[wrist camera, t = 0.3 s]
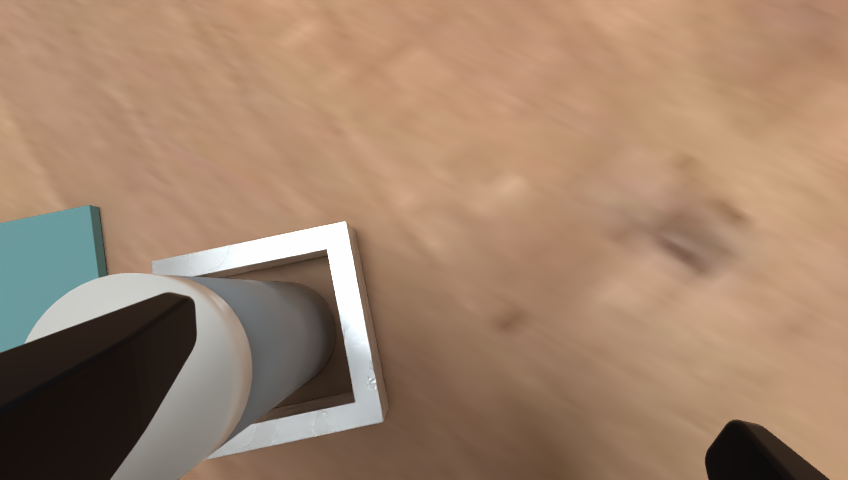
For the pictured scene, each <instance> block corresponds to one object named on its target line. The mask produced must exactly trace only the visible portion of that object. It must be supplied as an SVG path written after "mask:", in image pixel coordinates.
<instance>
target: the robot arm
mask: <svg viewBox="0 0 848 480" xmlns="http://www.w3.org/2000/svg"><path fill="white" fill-rule="evenodd" d="M196 339H197V325H196V307H195V302H194V300H193V298H191V297H190V296H186V295H182V294H177V293H173V292H165V293H162V294H159V295H156V296H154V297H151V298H148V299H146V300H143V301H140V302H137V303H135V304H132V305H129V306H126V307H124V308H121V309H118V310H115V311H113V312H110V313H107V314H104V315H102V316H99V317H96V318H94V319H91V320H88V321H85V322H83V323H80V324H77V325H74V326H72V327H69V328H66V329H63V330H61V331H58V332H55V333H52V334H50V335H47V336H44V337H42V338H39V339H36V340H33V341H31V342H28V343H25V344H22V345H20V346H17V347H14V348H11V349H9V350H6V351H3V352H0V480H110V479H111V478H112V477H113V475H114V474H115V473H116V471H117V470H118V468H119V467H120V466H121V464H122V463H123V462H124V460H125V459H126V457H127V456H128V455H129V453H130V452H131V451H132V449H133V448H134V446H135V445H136V444H137V442H138V441H139V439H140V438H141V436H142V435H143V433H144V432H145V430H146V429H147V427H148V426H149V424H150V422H151V421H152V419H153V417H154V416H155V414H156V412H157V411H158V409H159V407H160V405H161V404H162V402H163V400H164V399H165V397H166V395H167V393H168V392H169V390H170V388H171V387H172V385H173V383H174V381H175V380H176V378H177V376H178V375H179V373H180V371H181V369H182V368H183V366H184V364H185V362H186V361H187V359H188V357H189V356H190V354H191V352H192V350H193V348H194V346H195V343H196ZM705 466H706V471H707V475H708V479H709V480H830V479H828V478H827V477H826V476H825V475H823V474H822V473H821V472H820V471H818V470H817V469H816V468H815V467H813V466H812V465H811V464H810V463H808V462H807V461H806V460H805V459H803V458H802V457H801V456H800V455H798V454H797V453H796V452H794V451H793V450H792V449H791V448H789V447H788V446H787V445H786V444H784V443H783V442H782V441H781V440H779V439H778V438H777V437H776V436H774V435H773V434H772V433H771V432H769V431H768V430H767V429H766V428H764V427H763V426H761V425H758V424H755V423H750V422H746V421H741V420H732V421H730V422H728V423H727V424H726V425H725V427H724V428H723V430H722V431H721V432H720V434H719V435H718V436H717V438H716V439H715V440H714V442H713V443H712V445H711V446H710V447H709V449H708V450H707V453H706V457H705Z"/></svg>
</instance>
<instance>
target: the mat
mask: <svg viewBox="0 0 848 480" xmlns="http://www.w3.org/2000/svg"><path fill="white" fill-rule="evenodd" d="M104 276H107V270H106V262H105V254H104V247H103V239H102V231H101V223H100V216H99V208H98V207H95V206H91V205H88V206H83V207H78V208H73V209H68V210H63V211H58V212H53V213H49V214H44V215H39V216H34V217H29V218H24V219H19V220H14V221H9V222H5V223H0V352H3V351H6V350H9V349H11V348H14V347H17V346H20V345H22V344H25V341H26V339H27V337H28V335H29V334H30V332H31V331H32V329H33V327H34V326H35V324H36V323H37V321H38V320H39V319H40V318H41V317H42V315H43V314H44V313H45V312H46V311H47V310H48V309H49V308H50V307H51V306H52V305H53V304H54V303H55V302H56V301H57V300H59V299H60V298H61V297H63V296H64V295H65V294H67V293H68V292H69V291H71V290H73V289H75V288H76V287H78V286H80V285H82V284H84V283H87V282H89V281H91V280H94V279H97V278H101V277H104Z"/></svg>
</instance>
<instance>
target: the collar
mask: <svg viewBox="0 0 848 480" xmlns="http://www.w3.org/2000/svg"><path fill="white" fill-rule="evenodd" d="M323 256H329V261H330V267H331V272H332V278H333V283H334V289H335V294H336V299H337V305H338V310H339V316H340V321H341V326H342V332H343V337H344V343H345V348H346V353H347V359H348V364H349V370H350V375H351V381H352V386H353V391H354V392H349V393H344V394H340V395H335V396H330V397H326V398H321V399H316V400H311V401H307V402H302V403H297V404H293V405H288V406H283V407H278V408H274V409H271V410H269V411H268V412H267V413H265V414H264V415H263V416H261V417H260V418H259V419H257V420H256V421H255V422H254V423H252V424H251V425H250V426H248V427H247V428H246V429H244V430H243V431H242V432H240V433H239V434H238V435H236V436H235V437H234V438H232V439H231V440H230V441H228V442H227V443H226V444H224V445H223V446H222V447H220V448H219V449H218V450H216V451H215V452H214V453H212V454H211V455H210V456H208V457H207V458H206V459H211V458H216V457H220V456H225V455H230V454H235V453H239V452H244V451H249V450H253V449H258V448H263V447H267V446H272V445H277V444H282V443H286V442H291V441H296V440H300V439H305V438H310V437H314V436H319V435H324V434H328V433H333V432H338V431H343V430H347V429H352V428H357V427H361V426H366V425H371V424H375V423H380V422H384V419H385V416H386V413H387V410H388V407H389V404H388V399H387V394H386V389H385V384H384V378H383V373H382V368H381V363H380V358H379V353H378V347H377V342H376V337H375V332H374V327H373V321H372V316H371V311H370V306H369V301H368V295H367V290H366V285H365V280H364V275H363V269H362V264H361V259H360V254H359V249H358V243H357V238H356V233H355V229H354V228H353V227H351V226H350V225H349V224H348V223H347V222H341V223H336V224H331V225H326V226H322V227H317V228H312V229H307V230H302V231H297V232H293V233H288V234H283V235H278V236H273V237H268V238H264V239H259V240H254V241H249V242H244V243H239V244H235V245H230V246H225V247H220V248H215V249H210V250H206V251H201V252H196V253H191V254H186V255H181V256H177V257H172V258H167V259H162V260H157V261H153V262H151V263H152V270H153V274H158V275H175V276H192V277H209V278H222V277H227V276H231V275H236V274H241V273H246V272H251V271H255V270H260V269H265V268H270V267H275V266H280V265H284V264H289V263H294V262H299V261H304V260H308V259H313V258H318V257H323ZM206 459H204V460H206Z"/></svg>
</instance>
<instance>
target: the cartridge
mask: <svg viewBox="0 0 848 480" xmlns="http://www.w3.org/2000/svg"><path fill="white" fill-rule="evenodd" d="M165 292H173V293H177V294H182V295H186V296H190V297H191V298H193V300H194V302H195V307H196V325H197V339H196V343H195V346H194V348H193V350H192V352H191V354H190V356H189V357H188V359H187V361H186V362H185V364H184V366H183V368H182V369H181V371H180V373H179V375H178V376H177V378H176V380H175V381H174V383H173V385H172V387H171V388H170V390H169V392H168V393H167V395H166V397H165V399H164V400H163V402H162V404H161V405H160V407H159V409H158V411H157V412H156V414H155V416H154V417H153V419H152V421H151V422H150V424H149V426H148V427H147V429H146V430H145V432H144V433H143V435H142V436H141V438H140V439H139V441H138V442H137V444H136V445H135V446H134V448H133V449H132V451H131V452H130V453H129V455H128V456H127V457H126V459H125V460H124V462H123V463H122V464H121V466H120V467H119V468H118V470H117V471H116V473H115V474H114V475H113V477H112V478H111V479H110V480H178V479H179V478H181V477H182V476H183V475H185V474H186V473H187V472H189V471H190V470H191V469H193V468H194V467H195V466H197V465H198V464H199V463H201V462H202V461H203V460H204V459H206V458H207V457H208V456H210V455H211V454H212V453H214V452H215V451H216V450H218V449H219V448H220V447H222V446H223V445H224V444H226V443H227V442H228V441H230V440H231V439H232V438H234V437H235V436H236V435H238V434H239V433H240V432H242V431H243V430H244V429H246V428H247V427H248V426H250V425H251V424H252V423H254V422H255V421H256V420H257V419H259V418H260V417H261V416H263V415H264V414H265V413H267V412H268V411H269V410H271V409H272V408H273V407H275V406H276V405H277V404H279V403H280V402H281V401H283V400H284V399H285V398H287V397H288V396H289V395H291V394H292V393H293V392H295V391H296V390H297V389H299V388H300V387H301V386H303V385H304V384H305V383H306V382H308V381H309V380H310V379H312V378H313V377H314V376H316V375H317V374H318V373H319V372H320V371H321V370H322V369H323V368H324V366H325V365H326V364H327V362H328V360H329V358H330V356H331V354H332V352H333V348H334V345H335V338H336V329H335V322H334V318H333V315H332V313H331V310H330V308H329V307H328V305H327V304H326V302H325V301H324V299H323V298H322V297H321V296H320V295H319V294H317V293H316V292H315V291H313V290H312V289H310V288H308V287H306V286H304V285H301V284H297V283H292V282H278V281H261V280H243V279H226V278H209V277H192V276H175V275H158V274H140V273H122V274H115V275H108V276H104V277H101V278H97V279H94V280H91V281H89V282H87V283H84V284H82V285H80V286H78V287H76V288H75V289H73V290H71V291H69V292H68V293H67V294H65V295H64V296H63V297H61V298H60V299H59V300H57V301H56V302H55V303H54V304H53V305H52V306H51V307H50V308H49V309H48V310H47V311H46V312H45V313H44V314H43V315H42V317H41V318H40V319H39V320H38V321H37V323H36V324H35V326H34V327H33V329H32V331H31V332H30V334H29V335H28V337H27V339H26V341H25V343H28V342H31V341H33V340H36V339H39V338H42V337H44V336H47V335H50V334H52V333H55V332H58V331H61V330H63V329H66V328H69V327H72V326H74V325H77V324H80V323H83V322H85V321H88V320H91V319H94V318H96V317H99V316H102V315H104V314H107V313H110V312H113V311H115V310H118V309H121V308H124V307H126V306H129V305H132V304H135V303H137V302H140V301H143V300H146V299H148V298H151V297H154V296H156V295H159V294H162V293H165Z"/></svg>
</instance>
